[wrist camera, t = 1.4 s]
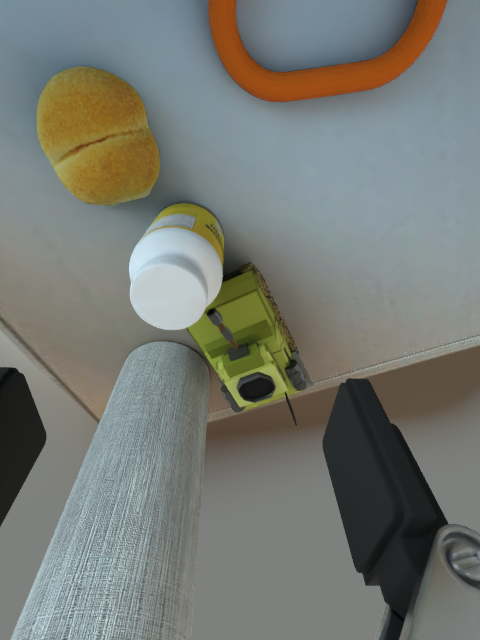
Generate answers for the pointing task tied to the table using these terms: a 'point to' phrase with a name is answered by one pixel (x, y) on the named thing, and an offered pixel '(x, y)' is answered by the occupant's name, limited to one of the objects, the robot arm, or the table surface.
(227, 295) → the toy tank
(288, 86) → the orange rounded loop
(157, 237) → the pill bottle
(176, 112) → the table surface
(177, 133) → the table surface
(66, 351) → the table surface
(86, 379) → the table surface
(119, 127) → the bread roll
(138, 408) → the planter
